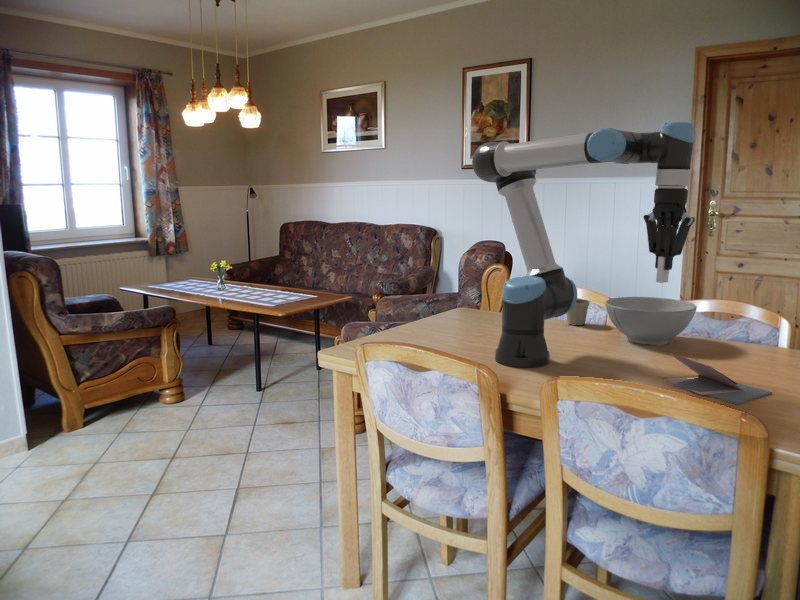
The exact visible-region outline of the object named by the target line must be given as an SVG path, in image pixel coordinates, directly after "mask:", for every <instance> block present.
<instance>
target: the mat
mask: <svg viewBox="0 0 800 600" xmlns="http://www.w3.org/2000/svg"><path fill="white" fill-rule="evenodd" d="M736 383H737V384H735V385H737V386H738V387H739V388H741V389H742V390H743V391H740V392H729V393H718V394H707V395H705V396H706V397H710V398H713V399H717V400H720V401H725V402H726V403H727V402H728V403H731V404H733V405H737V406H738V405H741V404H744V403H748V402H750V401H753V400H756V399H759V398H762V397H766V396H768V395H772V394H773V392H772V391H770V390H766V389H762V388H759V387H754V386H751V385H747V384H744V383H743V384H742V383H738V382H736ZM672 386H673V387H675V388H679V389H683V390H686V391H689V392H693V391H691V390H694V391H698V392H708V391H720V390H732V389H737V388H734V387H732V386H729V385H726V384H724V383H721V382H718V381H716V380H713V379H710V378H708V377H705V376H701V377H698V378H694V379H690V380H686V381H683V382H679V383H675V384H673V383H672ZM688 389H690V390H688ZM693 393H694V392H693ZM771 393H772V394H771Z"/></svg>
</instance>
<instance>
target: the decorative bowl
mask: <svg viewBox="0 0 800 600" xmlns="http://www.w3.org/2000/svg"><path fill="white" fill-rule="evenodd" d="M604 304H605V309H606V313H607V315H608V317H609V320H610V321H611V322H612V324H613V325H614V327H615V328H616V329H617V330H618V331H619V332H620V333H621V334H623V335H625V336H626V339H628V340H627V341H629V342H630V343H634V342H635V343H634V344H638V343H640V345H645V344H650V345H649V346H661V345H660V344H663V345H666V344H665V343H667V344H668V343H669V341H670V339H673V338H675V337H677V336H678V335H680V334H681V333H682V332H683V331H685V330H686V328H687V327H688V326H690V323H691V322H692V320H693V318H694V316H695V314H696V311H697V308H698V307H697V305H696V304H694V303H691V302H689V301H685V300H679V299H674V298H666V297H654V296H653V297H652V296H621V297H620V296H619V297H613V298H609V299H606V300H605V303H604Z"/></svg>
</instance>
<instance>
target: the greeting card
mask: <svg viewBox="0 0 800 600" xmlns="http://www.w3.org/2000/svg"><path fill="white" fill-rule="evenodd" d="M668 354H669V355H671V356H672V357H673V358H674V359H676V360H678V361H679V362H680V363H682V364H683V365H685V366H686V367H687V368H689V369H690V370H691V371H693V372H694V373H695V374H696V375H698V376H700V375H701V376H705V377H708V378H710V379H713V380H716V381H718V382H721V383H724V384H726V385H729V386H732V387H734V388H737V389H732V390H720V391H708V392H698V391H694V390H691V391H690V392H692V391H693V393H696V394H698V395H701V396H706V395H707V394H718V393H729V392H740V391H743V390H742V389H741V388H739V387H738V386H737V385H735V384H737V383H738V382H735V380H732V379H731V378H729V377H728V376H726V375H725V374H724V373H721V372H720V371H718V370H717V369H716V368H714V367H712V366H710V365H707V364H704V363H701V362H698V361H696V360H692V359H689V358H687V357H683V356H679V355H677V354H674V353H670V352H668ZM685 377H686V376H684V377H672V378H663V379H662V380H664V381H666V382H668V383H671V384H672V385H673V384H675V383H679V382H683V381H686V380H690V379H687V378H685ZM689 390H690V389H688V390H687V391H689Z"/></svg>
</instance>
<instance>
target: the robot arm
mask: <svg viewBox="0 0 800 600" xmlns="http://www.w3.org/2000/svg"><path fill="white" fill-rule="evenodd" d="M694 138H695V126H694V124H693V123H692V122H689V121H669V122H664V123H662V124H661V126H660V129H659V131H653V132H633V131H627V130H621V129H616V128H613V127H608V128H607V127H606V128H599V129H598V130H597V129H596V131H594V132H592V131H591V132H586V133H585V132H584V133H578V134H572V135H564V136H559V137H552V138H551V137H550V138H543V139H537V140H529V141H524V142H517V143H515V142H513V143H512V142H511V143H510V142H509V141H489V142H485V143H483V144H481V145H479V147H477V149H476V150H475V151H474V153H473V156H472V161H471V162H472V163H471V164H472V165H471V167H472V169H473V172H474V174H475V175H476V177H478V178H479V179H480V180H482V181H484V182H487V183H493V184H494V183H495V186H496V189H497V192H498V194H499V195H501V196H503V197H504V198H505V201H506V204H507V207H508V212H509V216H510V218H511V220H512V225H513V228H514V231H515V235H516V238H517V241H518V245H519V248H520V252H521V255H522V258H523V261H524V265H525V268H526V275H524V276H515V277H514V278H509V279H507V280H506V281H505V282H504V283H503V286H502V293H501V299H502V305H501V306H502V308H501V309H502V310H501V315H502V316H501V334H500V339H499V342H498V344H497V348H496V349H495V352H494V353H495V355H494V359H495V361H496V362H497V363H498V362H499V364H501V365H504V366H508V367H515V368H537V367H543V366H546V365H548V364H550V357H551V356H550V351H549V350H548V345H547V341H546V338H545V321H546V320H549V319H553V318H559V317H562V316H564V315H565V314H566V313H568V312H569V311H570V310H572V308H573V307H574V305H575V303H576V301H577V299H578V290H577V286H576V284H575V282H574V281H573V280H572V279H571V278H569V277H568V276H566V274H565V270H564V268H563V266H561V265H559V264H557V263H556V261H555V256H554V253H553V250H552V246H551V244H550V243H551V242H550V240H549V237H548V233H547V230H546V226H545V224H544V220H543V217H542V213H541V211H540V207H539V204H538V200H537V197H536V194H535V193H536V192H535V190H534V186H535V185H536V182H537V179H536V174H537V170H542V169H543V170H544V169H552V168H553V169H554V168H562V167H563V168H564V167H570V166H579V165H580V166H581V165H582V166H583V165H588V164H589V165H591V164H600V163H603V164H604V163H615V164H623V165H629V164H648V163H649V164H657V165H656V173H655V181H654V185H655V186H656V187H657V188H655V189H654V195H653V196H654V197H653V202H654V206H653V208H652V211H651V212H650V213H648V214H644V215H643V220H644V222H645V224H646V234H647V243H648V252H649V253H651V254H654V255H655V262H654V263H655V264H654V267H655V269H657V270H656V277H655V282H656V283H658V284H659V283H660V284H664V283H668V282H669V274H670V270H672V269H673V261H674V257H676V256H679V255H680V256H681V254H682V252H683V249H684V246H685V244H686V241H687V238H688V234H689V232H690V229H691V227H692V225H693V224H694V222H695V221H696V218H695V217H694V216H690V215H689V214H688V212H687V207H686V204H687V202H688V194H689V190H688V188H686V187H688V186H689V184H690V175H691V173H690V172H691V166H692V165H691V163H692V156H693V150H694V149H693V148H694V144H695V140H694Z"/></svg>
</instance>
